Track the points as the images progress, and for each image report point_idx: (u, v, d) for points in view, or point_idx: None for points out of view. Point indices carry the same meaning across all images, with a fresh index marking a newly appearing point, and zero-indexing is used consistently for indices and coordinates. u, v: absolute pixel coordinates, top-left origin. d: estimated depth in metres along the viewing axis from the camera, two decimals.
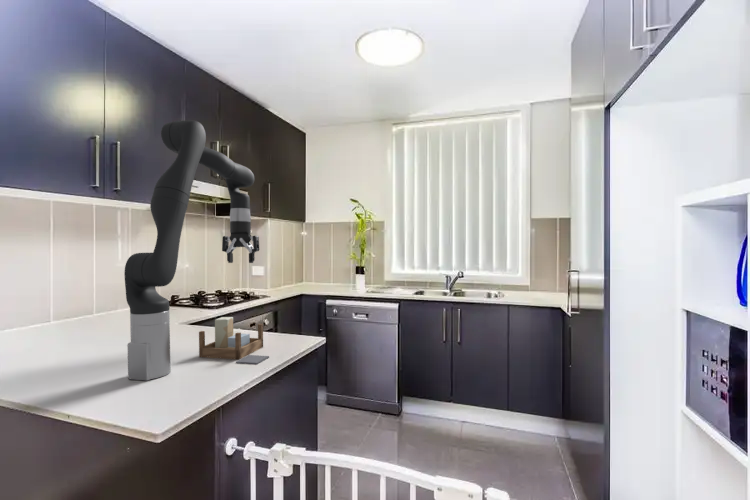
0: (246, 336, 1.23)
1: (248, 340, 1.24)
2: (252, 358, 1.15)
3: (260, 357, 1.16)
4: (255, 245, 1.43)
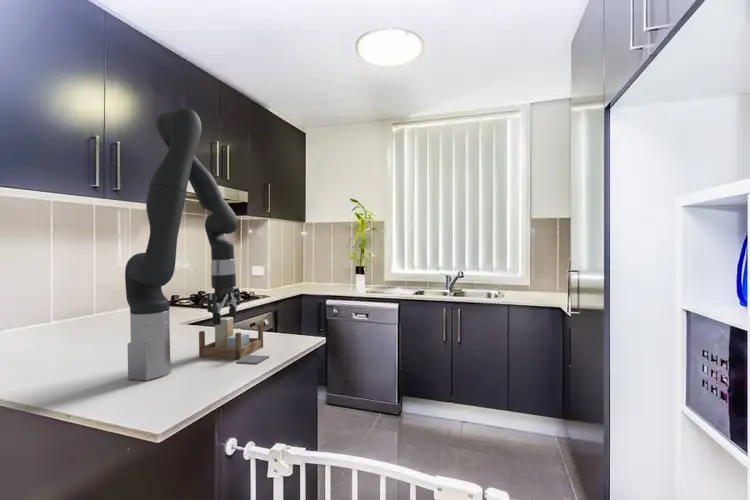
0: (245, 336, 1.23)
1: (247, 340, 1.24)
2: (252, 358, 1.15)
3: (260, 357, 1.16)
4: (239, 298, 1.31)
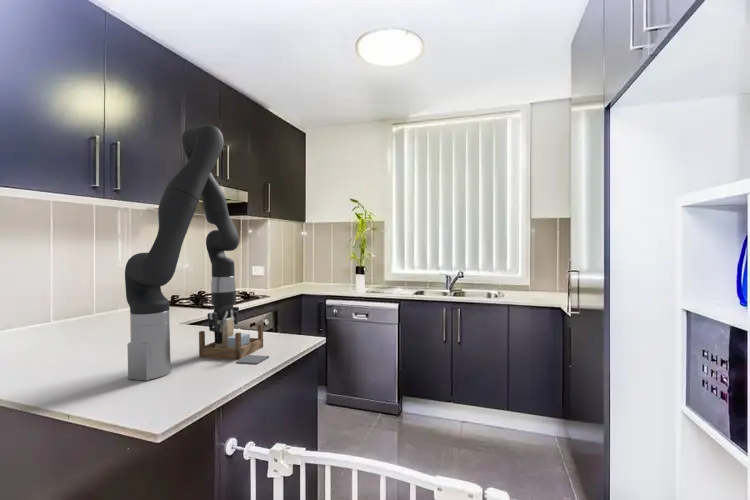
0: (246, 336, 1.23)
1: (248, 340, 1.24)
2: (252, 358, 1.15)
3: (260, 357, 1.16)
4: (237, 318, 1.30)
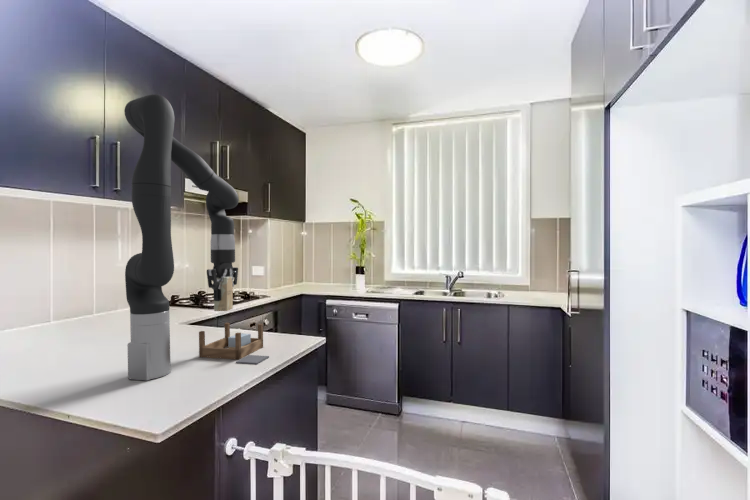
0: (247, 336, 1.23)
1: (249, 340, 1.24)
2: (252, 358, 1.15)
3: (260, 357, 1.16)
4: (236, 278, 1.30)
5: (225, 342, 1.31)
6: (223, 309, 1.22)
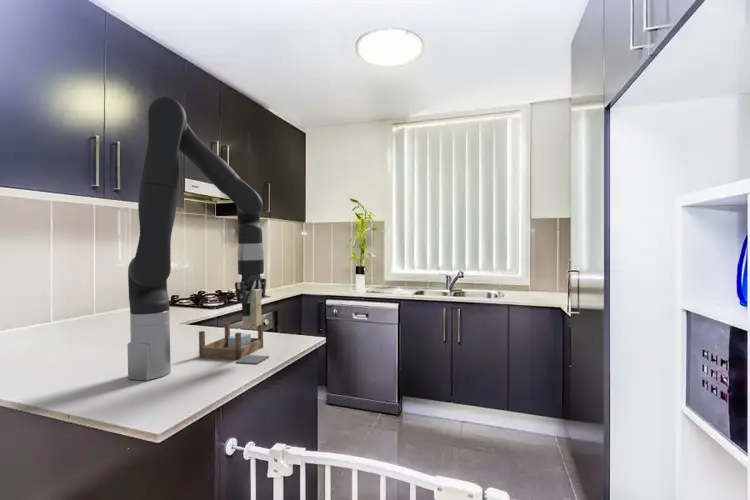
0: (246, 336, 1.23)
1: (249, 340, 1.24)
2: (252, 358, 1.15)
3: (260, 357, 1.16)
4: (264, 290, 1.20)
5: (225, 342, 1.31)
6: (252, 325, 1.12)
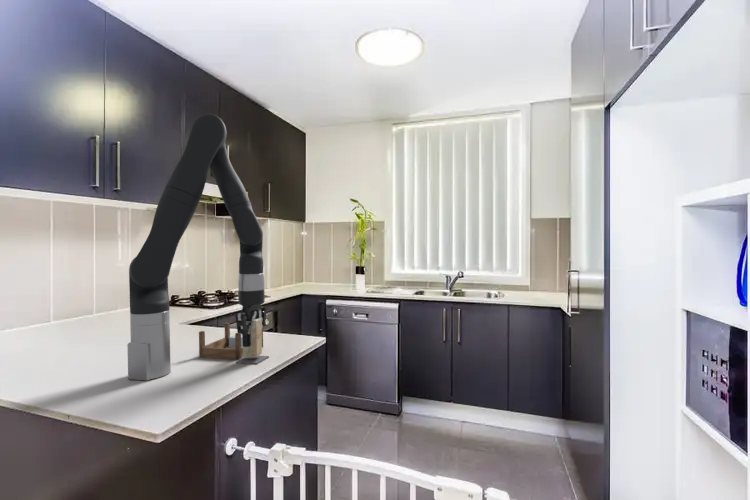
0: None
1: None
2: (252, 358, 1.15)
3: (260, 357, 1.16)
4: (265, 318, 1.20)
5: (225, 342, 1.31)
6: (253, 355, 1.12)
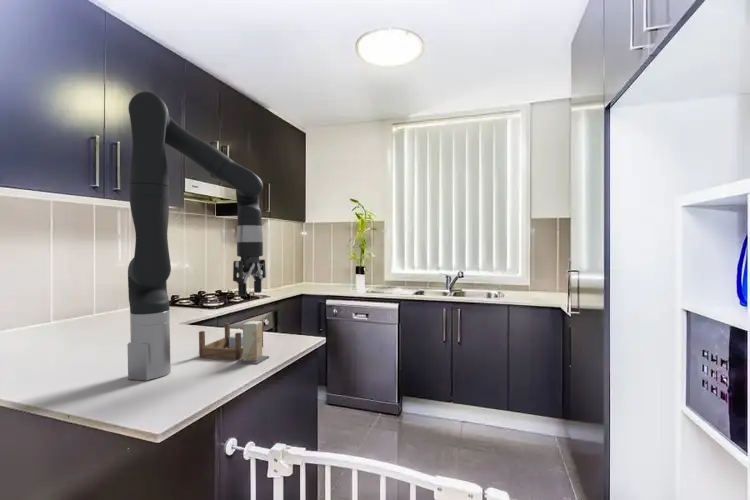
0: None
1: None
2: None
3: None
4: (264, 271, 1.21)
5: (225, 342, 1.31)
6: (253, 359, 1.12)
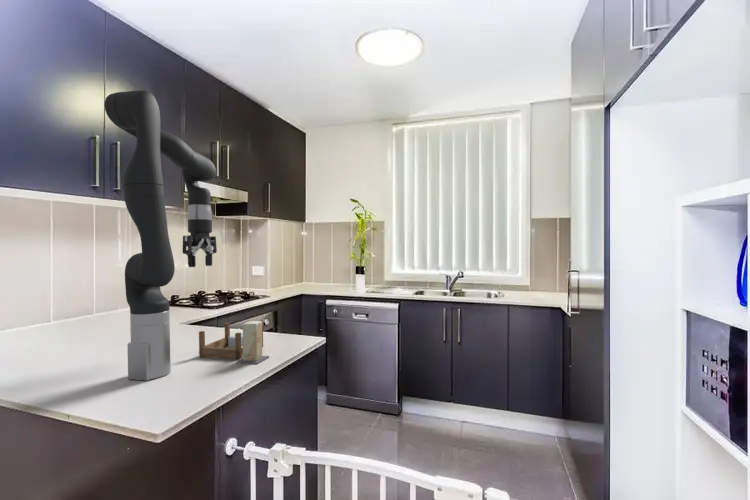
0: None
1: None
2: None
3: None
4: (215, 246, 1.35)
5: (225, 342, 1.31)
6: (253, 359, 1.12)
